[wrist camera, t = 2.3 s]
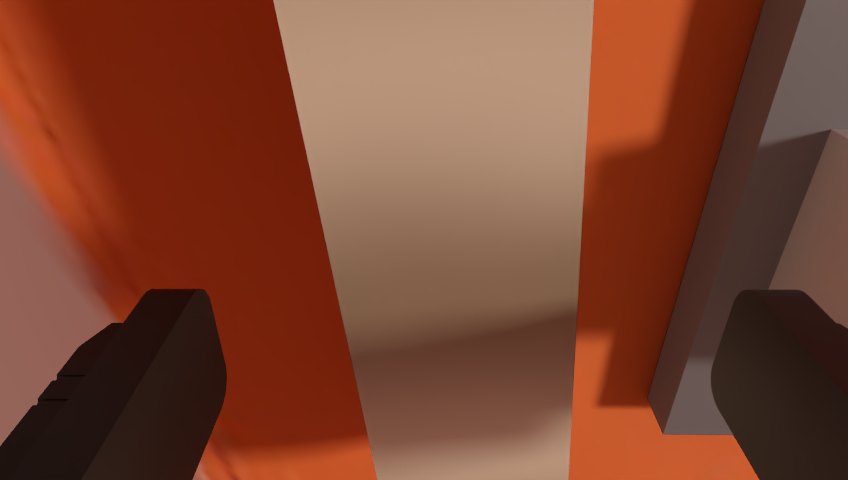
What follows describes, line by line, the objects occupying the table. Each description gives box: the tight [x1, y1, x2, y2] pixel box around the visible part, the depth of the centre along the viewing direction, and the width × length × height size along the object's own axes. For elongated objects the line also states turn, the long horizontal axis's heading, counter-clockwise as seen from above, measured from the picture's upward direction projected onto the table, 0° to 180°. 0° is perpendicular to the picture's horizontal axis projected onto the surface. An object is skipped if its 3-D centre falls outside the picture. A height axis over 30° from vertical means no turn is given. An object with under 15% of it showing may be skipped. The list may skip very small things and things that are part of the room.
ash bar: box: [273, 0, 594, 480], centre depth 12 cm, size 20×4×7 cm, turn 5°
